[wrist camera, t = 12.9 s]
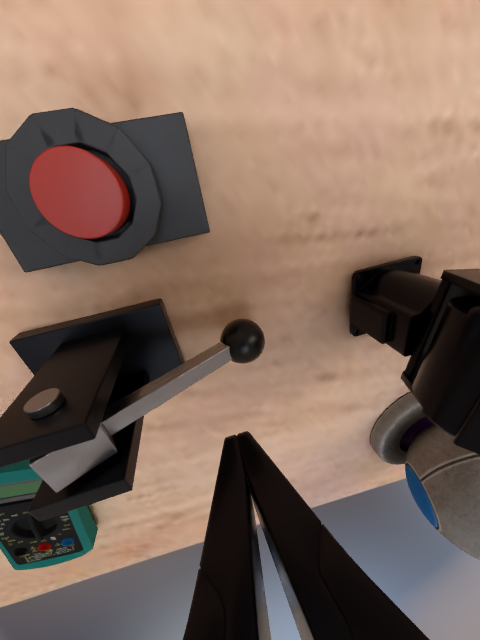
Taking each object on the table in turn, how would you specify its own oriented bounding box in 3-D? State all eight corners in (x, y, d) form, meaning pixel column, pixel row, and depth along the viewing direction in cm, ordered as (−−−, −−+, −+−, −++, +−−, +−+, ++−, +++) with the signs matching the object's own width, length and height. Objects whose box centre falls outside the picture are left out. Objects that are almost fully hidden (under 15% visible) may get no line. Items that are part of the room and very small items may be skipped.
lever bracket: (161, 297, 18) (146, 385, 10) (187, 369, 21) (193, 482, 13) (18, 333, 17) (-146, 468, 8) (69, 403, 20) (-11, 552, 12)
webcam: (449, 429, 37) (601, 556, 24) (374, 466, 36) (485, 616, 23) (454, 369, 30) (665, 498, 17) (363, 414, 30) (507, 579, 17)
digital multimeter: (27, 542, 27) (10, 579, 24) (-29, 452, 20) (-59, 489, 18) (101, 527, 28) (93, 559, 26) (71, 439, 22) (57, 470, 19)
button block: (181, 115, 14) (182, 91, 11) (208, 233, 17) (214, 240, 14) (-29, 149, 13) (-96, 132, 9) (41, 269, 16) (8, 286, 13)
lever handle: (241, 307, 19) (271, 318, 16) (248, 341, 20) (276, 356, 18) (23, 418, 12) (20, 465, 10) (58, 457, 13) (62, 506, 11)
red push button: (113, 146, 11) (102, 138, 10) (141, 226, 13) (136, 230, 12) (31, 160, 11) (7, 153, 9) (71, 241, 13) (56, 246, 11)
